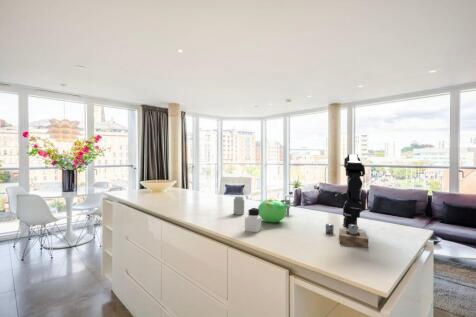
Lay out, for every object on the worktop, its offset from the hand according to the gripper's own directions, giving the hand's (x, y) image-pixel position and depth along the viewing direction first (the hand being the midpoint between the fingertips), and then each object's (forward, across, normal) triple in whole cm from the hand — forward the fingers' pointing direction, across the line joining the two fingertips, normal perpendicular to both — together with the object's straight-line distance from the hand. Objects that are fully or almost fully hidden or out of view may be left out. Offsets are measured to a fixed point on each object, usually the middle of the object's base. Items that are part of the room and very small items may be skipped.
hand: (353, 219), depth 117 cm
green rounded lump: (+11, -16, -45) cm, 49 cm away
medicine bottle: (+11, +5, -50) cm, 52 cm away
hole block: (+11, 0, 0) cm, 11 cm away
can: (+11, -25, -72) cm, 77 cm away
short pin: (+11, -9, -11) cm, 18 cm away
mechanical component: (+11, -41, -41) cm, 59 cm away
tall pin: (+11, 0, 0) cm, 11 cm away
